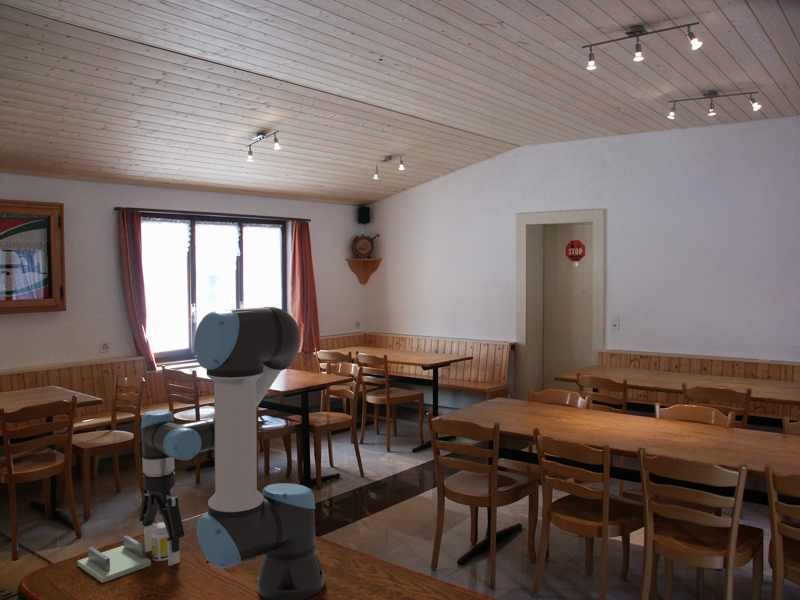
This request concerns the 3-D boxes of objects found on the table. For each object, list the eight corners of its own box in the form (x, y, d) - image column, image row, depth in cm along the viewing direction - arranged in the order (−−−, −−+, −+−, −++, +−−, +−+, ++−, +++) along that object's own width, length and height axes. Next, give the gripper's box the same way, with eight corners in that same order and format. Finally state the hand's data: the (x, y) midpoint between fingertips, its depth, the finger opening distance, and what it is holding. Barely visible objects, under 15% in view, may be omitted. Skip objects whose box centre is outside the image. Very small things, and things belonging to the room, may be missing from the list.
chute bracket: (145, 557, 166) (145, 545, 166) (105, 571, 158) (105, 559, 158) (127, 546, 172) (127, 535, 172) (88, 559, 165) (87, 547, 165)
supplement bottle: (174, 553, 171) (173, 521, 170) (168, 561, 166) (167, 528, 166) (155, 553, 171) (154, 521, 170) (149, 562, 166) (148, 529, 165)
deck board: (150, 565, 164) (150, 560, 164) (102, 582, 155) (102, 577, 155) (125, 549, 173) (124, 545, 173) (77, 565, 165) (77, 560, 165)
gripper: (197, 478, 162) (200, 565, 163) (150, 459, 178) (153, 539, 179) (168, 486, 156) (171, 576, 158) (123, 466, 172) (126, 548, 174)
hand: (162, 556), depth 168 cm, fingers open, 11 cm apart
